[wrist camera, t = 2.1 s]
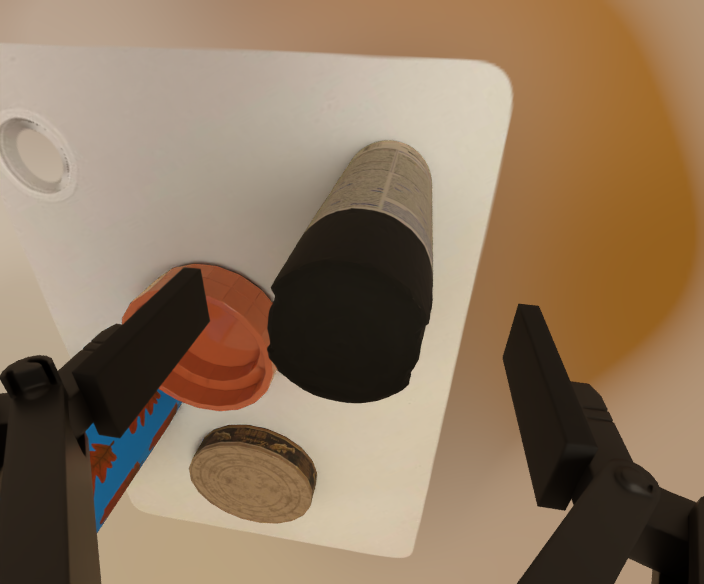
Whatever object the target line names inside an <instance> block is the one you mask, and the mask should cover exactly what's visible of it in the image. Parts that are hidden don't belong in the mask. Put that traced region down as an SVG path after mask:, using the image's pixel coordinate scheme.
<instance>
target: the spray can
mask: <svg viewBox="0 0 704 584" xmlns="http://www.w3.org/2000/svg"><path fill="white" fill-rule="evenodd" d="M432 288H433V237H432V179H431V174H430V170H429V167H428V165H427V163H426V162H425V160H424V159H423V157H422V156H421V155H420V154H419V153H418V152H417V151H416V150H415V149H413V148H412V147H410V146H409V145H406V144H404V143H401V142H397V141H380V142H376V143H373V144H370V145H368V146H366V147H365V148H363V149H362V150H361V151H359V152H358V153H357V154H356V155H355V157H354V158H353V159H352V160H351V162H350V163H349V165H348V166H347V168H346V169H345V171H344V172H343V174H342V176H341V177H340V178H339V180H338V182H337V183H336V185H335V186H334V188H333V189H332V191H331V192H330V194H329V196H328V197H327V199H326V200H325V202H324V203H323V205H322V206H321V208H320V209H319V211H318V212H317V214H316V215H315V217H314V218H313V220H312V221H311V223H310V225H309V226H308V228H307V229H306V231H305V232H304V234H303V235H302V237H301V239H300V240H299V242H298V243H297V245H296V247H295V248H294V250H293V251H292V253H291V255H290V256H289V258H288V260H287V261H286V263H285V265H284V266H283V268H282V269H281V271H280V272H279V274H278V276H277V277H276V279H275V281H274V283H273V284H272V286H271V289H272V291H273V293H274V295H275V299H274V302H273V304H272V305H271V307H270V310H269V314H268V326H267V330H268V334H269V340H270V345H269V346H268V347H267V352H268V356H269V359H270V360H271V361H272V362H273V364H274V365H275V366H276V368H277V369H278V371H279V372H280V373H281V374H283V375H284V376H285V377H287V378H288V379H289V380H290V381H291V382H293V383H295V384H296V385H298V386H299V387H300V388H302V389H303V390H305V391H307V392H309V393H311V394H313V395H316V396H319V397H322V398H326V399H330V400H334V401H339V402H346V403H366V402H373V401H378V400H381V399H384V398H387V397H389V396H391V395H393V394H396V393H398V392H400V391H402V390H403V389H404V388H405V387H406V386H408V385H409V380H410V377H411V371H412V370H413V369H414V367H415V365H416V363H417V362H418V360H419V355H420V349H421V343H422V340H423V336H424V331H425V327H426V325H428V324H429V320H430V313H431V309H432V301H433V298H432Z"/></svg>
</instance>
